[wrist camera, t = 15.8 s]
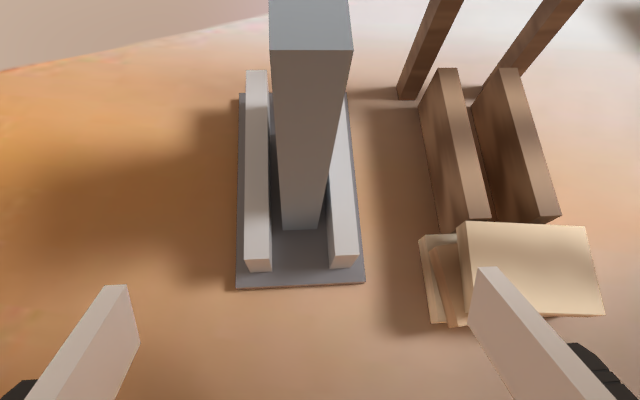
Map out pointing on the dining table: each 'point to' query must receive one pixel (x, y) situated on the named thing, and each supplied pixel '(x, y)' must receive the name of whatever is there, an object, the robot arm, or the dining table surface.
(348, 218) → the slot stand
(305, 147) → the slate board
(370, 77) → the dining table surface
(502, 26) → the dining table surface
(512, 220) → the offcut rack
